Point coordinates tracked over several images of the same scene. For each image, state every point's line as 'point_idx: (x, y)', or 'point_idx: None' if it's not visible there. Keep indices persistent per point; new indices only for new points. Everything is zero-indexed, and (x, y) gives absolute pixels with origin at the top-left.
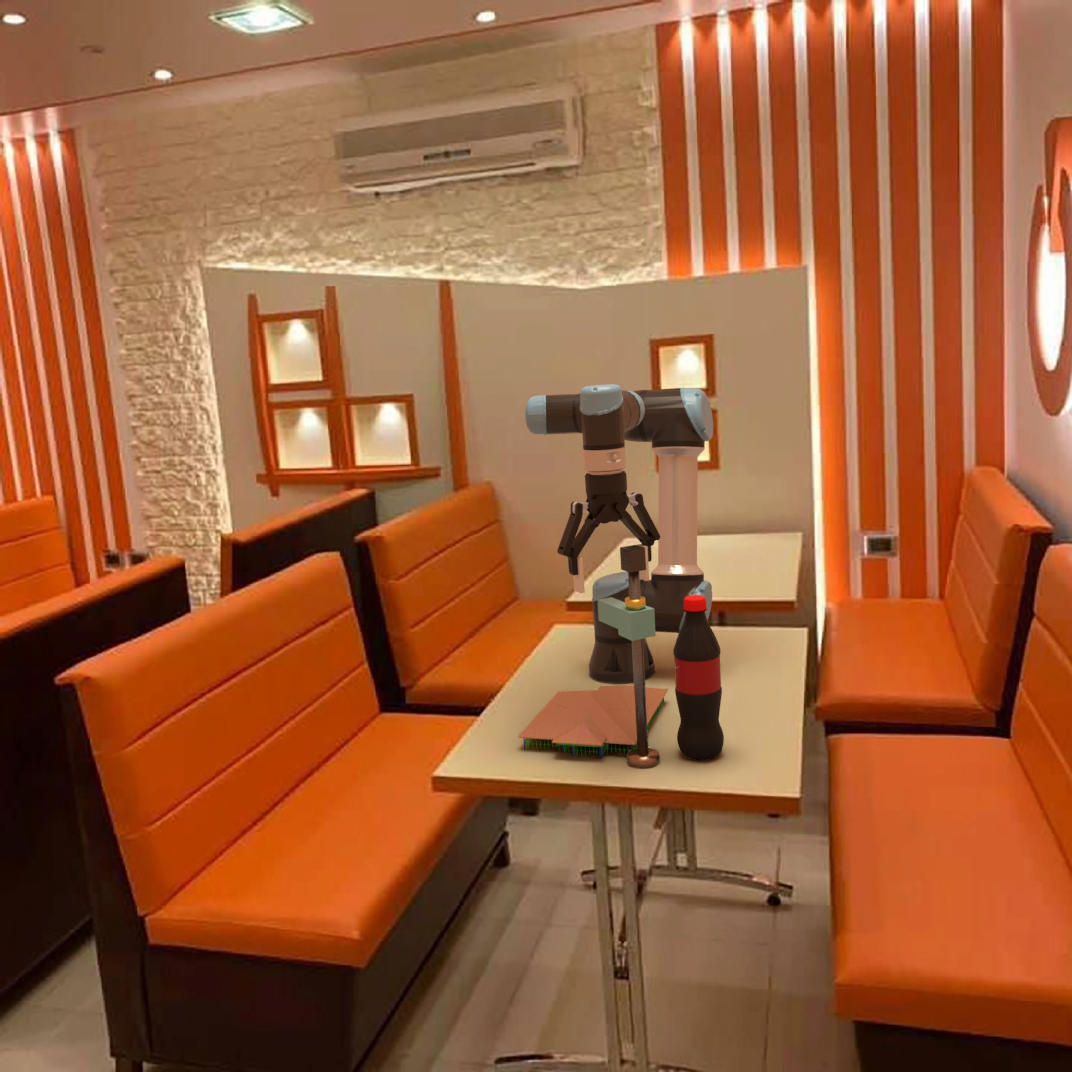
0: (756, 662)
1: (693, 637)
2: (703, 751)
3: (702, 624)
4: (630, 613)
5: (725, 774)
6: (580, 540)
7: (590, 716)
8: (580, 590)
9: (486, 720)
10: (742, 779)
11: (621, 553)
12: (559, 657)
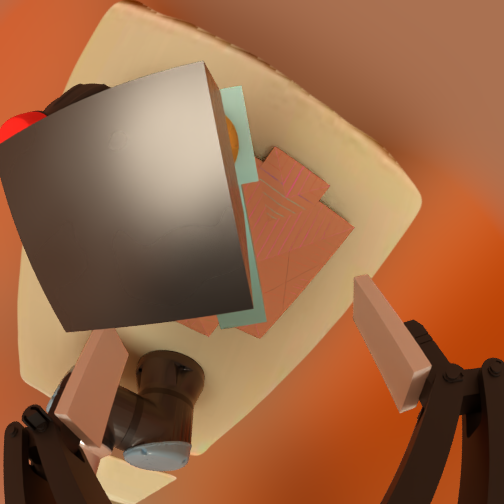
0: (47, 342)
1: (83, 96)
2: None
3: (46, 111)
4: (241, 87)
5: (146, 61)
6: (449, 447)
7: (266, 219)
8: (371, 281)
9: (344, 312)
10: (135, 44)
11: (245, 247)
12: (220, 417)
